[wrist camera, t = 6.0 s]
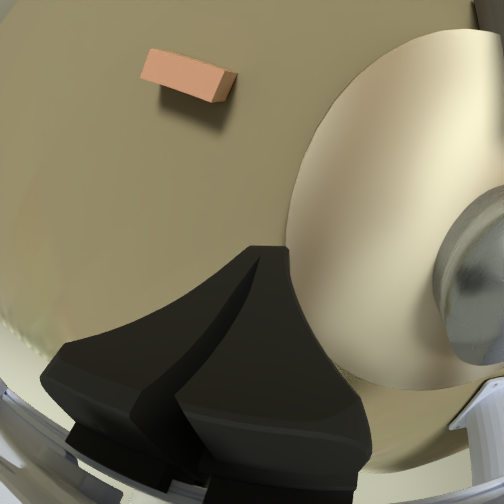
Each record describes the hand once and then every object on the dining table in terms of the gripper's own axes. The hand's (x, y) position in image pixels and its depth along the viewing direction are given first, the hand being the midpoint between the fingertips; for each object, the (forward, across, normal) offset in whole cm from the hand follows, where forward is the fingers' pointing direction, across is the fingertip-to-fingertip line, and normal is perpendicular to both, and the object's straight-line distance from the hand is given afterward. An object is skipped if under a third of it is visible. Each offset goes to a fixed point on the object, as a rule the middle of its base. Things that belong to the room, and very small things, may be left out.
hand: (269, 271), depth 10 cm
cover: (+1, -10, 0) cm, 10 cm away
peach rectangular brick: (+3, +3, -7) cm, 8 cm away
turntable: (+2, -9, -1) cm, 10 cm away
